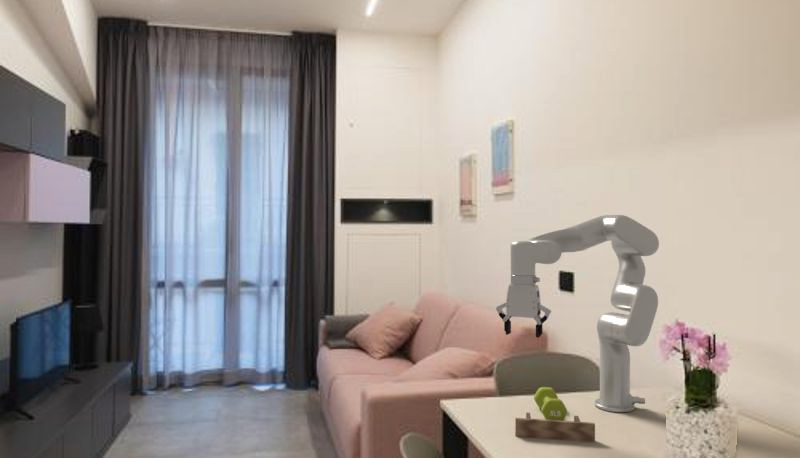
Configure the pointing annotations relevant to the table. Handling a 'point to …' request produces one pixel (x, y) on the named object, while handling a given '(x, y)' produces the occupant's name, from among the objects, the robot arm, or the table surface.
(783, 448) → the table surface
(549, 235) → the robot arm
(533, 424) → the walnut bay
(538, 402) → the dumbbell
